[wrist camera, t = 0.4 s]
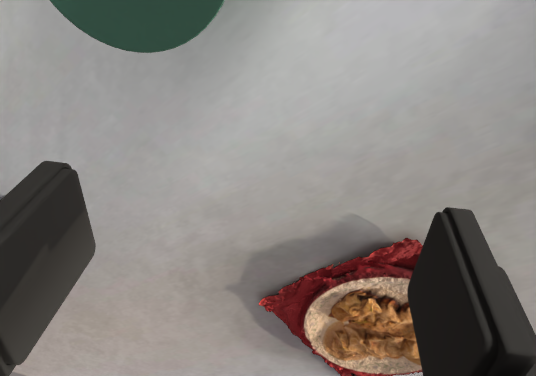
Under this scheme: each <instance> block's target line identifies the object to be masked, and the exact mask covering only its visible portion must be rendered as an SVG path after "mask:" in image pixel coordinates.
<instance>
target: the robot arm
mask: <svg viewBox="0 0 536 376" xmlns="http://www.w3.org/2000/svg"><path fill="white" fill-rule="evenodd" d="M94 253H95V240H94V237H93V233H92V229H91V225H90V221H89V217H88V213H87V209H86V205H85V201H84V197H83V194H82V190H81V186H80V182H79V178H78V174H77V172H76V171H75V170H73V169H72V168H71V166H70V165H69V164H67V163H60V162H52V161H44V162H42V163H41V164H39V165H38V166H37V167H36V168H35V169H34V170H33V171H32V172H31V173H30V174H29V175H28V176H26V177H25V178H24V179H23V180H22V181H21V182H20V183H19V184H18V185H17V186H16V187H15V188H13V189H12V190H11V191H10V192H9V193H8V194H7V195H6V196H5V197H4V198H3V199H1V200H0V376H9V375H10V374H11V372H12V371H13V369H14V368H15V366H16V365H20V364H21V363H23V362H24V361H25V359H26V358H27V356H28V355H29V353H30V352H31V350H32V349H33V347H34V346H35V344H36V343H37V341H38V340H39V338H40V337H41V335H42V334H43V332H44V331H45V329H46V328H47V326H48V324H49V323H50V321H51V320H52V318H53V317H54V315H55V314H56V312H57V311H58V309H59V308H60V306H61V305H62V303H63V302H64V300H65V299H66V297H67V296H68V294H69V292H70V291H71V289H72V288H73V286H74V285H75V283H76V282H77V280H78V279H79V277H80V276H81V274H82V273H83V271H84V270H85V268H86V267H87V265H88V263H89V262H90V260H91V259H92V257H93V255H94ZM407 296H408V302H409V307H410V312H411V317H412V322H413V327H414V332H415V337H416V342H417V347H418V352H419V357H420V362H421V367H422V372H423V376H536V335H535V333H534V331H533V328H532V326H531V324H530V322H529V320H528V318H527V316H526V314H525V312H524V310H523V308H522V305H521V303H520V301H519V299H518V297H517V295H516V293H515V291H514V289H513V287H512V285H511V282H510V280H509V278H508V276H507V274H506V273H505V271H504V270H503V269H502V268H501V267H499V266H497V263H496V261H495V259H494V257H493V255H492V253H491V250H490V248H489V246H488V244H487V242H486V240H485V238H484V235H483V233H482V231H481V229H480V227H479V225H478V222H477V220H476V218H475V216H474V214H473V212H472V211H471V210H466V209H457V208H449V207H447V208H445V209H444V210H443V212H437V213H436V214H435V216H434V218H433V221H432V224H431V226H430V229H429V232H428V234H427V237H426V239H425V242H424V245H423V247H422V250H421V253H420V255H419V258H418V260H417V263H416V266H415V268H414V271H413V274H412V276H411V279H410V282H409V285H408V291H407Z"/></svg>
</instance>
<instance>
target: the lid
mask: <svg viewBox="0 0 536 376" xmlns="http://www.w3.org/2000/svg"><path fill="white" fill-rule="evenodd" d="M50 1H51V2H52V4H53V5H54V6H55V7H56V8H57V9H58V10H59V11H60V12H61V13H62V14H63V15H64V16H65V17H66V18H67V19H68V20H69V21H70V22H72V23H73V24H74V25H75V26H76V27H78V28H79V29H81V30H82V31H83V32H85V33H86V34H88V35H89V36H91V37H93V38H95V39H97V40H98V41H100V42H103V43H105V44H107V45H110V46H112V47H115V48H119V49H122V50H126V51H132V52H143V53H152V52H160V51H165V50H169V49H173V48H176V47H178V46H180V45H182V44H185V43H187V42H188V41H190V40H191V39H193V38H194V37H196V36H197V35H198V34H199V33H200V32H202V31H203V30H204V29H205V28H206V27H207V26H208V25H209V23H210V22H211V21H212V20H213V19H214V17H215V16H216V15H217V13H218V12H219V10H220V8H221V7H222V5H223V3H224V1H225V0H50Z"/></svg>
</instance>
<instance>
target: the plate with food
mask: <svg viewBox="0 0 536 376" xmlns="http://www.w3.org/2000/svg"><path fill="white" fill-rule="evenodd" d="M422 247H423V246H422V245H421V243H420V242H418V240H411V239H408V238H405V239H404V240H403V242H400V241H399V242H397V243H393V245H392V246H391V247H386V248H380V249H379V250H377V251H374V252H373V253H372V254H370V256H369V257H364V258H361V257H358V258H355V259H353V260H350V261H347V262H345V263H343V264H341V265H338V266H336V267H335V268H333V264H332V265H331V266H328V267H327V268H322V269H319V270H318V271H315V272H313V273H310V274H307V275H305V276H304V277H300V280H299V281H298V282H296V283H293V284H292V285H291V284H290V285H289V286H286V287H283V288H282V289H281V290H280V291H279V295H274V296H268V297H265V298H264V299H262V300H261V301H260V302H259V305H261V306H264V307H265V309H266V311H269V312H271V311H273V313H274V314H275V315H276V316H277V317H279V318H280V319H281V320H282V321H283V322H284V323H286V324H287V326H288V328H289V329H290V330H291V332H292V334H293V335H295V336H298V337H299V338H300V339H301V340H302V342H303V343H304V344H305V345H307V346H308V347H310V348H311V349H312V350H313V351H312V353H313V354H316V355H319V356H321V357H322V358H323V359H324V360H325V362H327V364H328V365H329V366H330V367H333V368H334V369H335V370H336V371H337V372H338V373H339V374H340V375H341V376H352V375H351V373H353V374H355V375H357V376H393V375H406V374H410V373H412V374H414V372H418V373H419V372H422V367H421V362H420V357H419V352H418V347H417V342H416V337H415V332H414V327H413V322H412V317H411V312H410V307H409V302H408V296H407V291H408V285H409V282H410V279H411V276H412V274H413V271H414V268H415V266H416V263H417V260H418V258H419V255H420V253H421V250H422Z"/></svg>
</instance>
